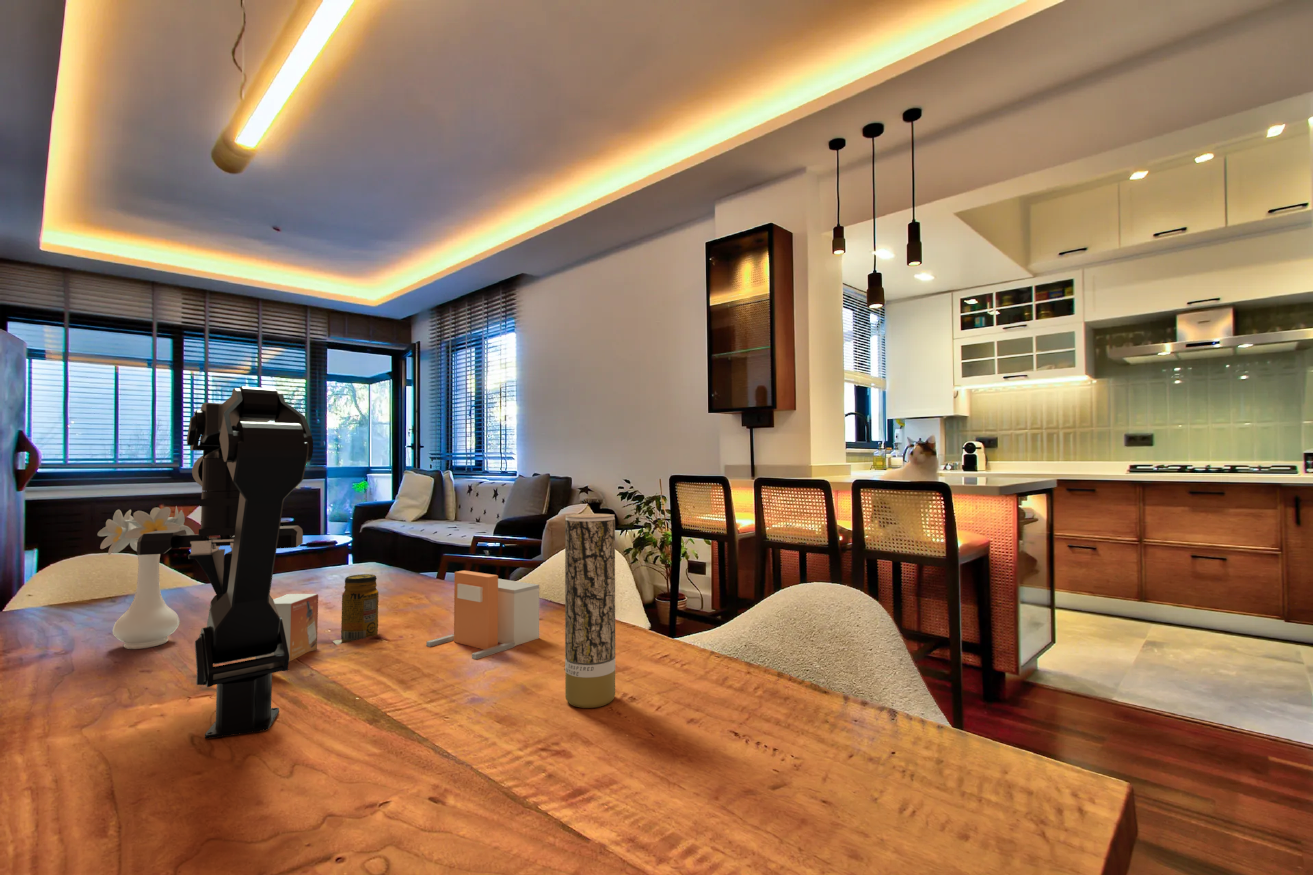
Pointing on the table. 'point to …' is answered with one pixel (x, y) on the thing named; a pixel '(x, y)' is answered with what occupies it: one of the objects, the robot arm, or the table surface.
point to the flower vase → (143, 577)
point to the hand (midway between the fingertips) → (223, 600)
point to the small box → (298, 622)
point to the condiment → (359, 608)
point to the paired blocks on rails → (510, 617)
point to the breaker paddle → (476, 609)
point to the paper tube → (589, 609)
